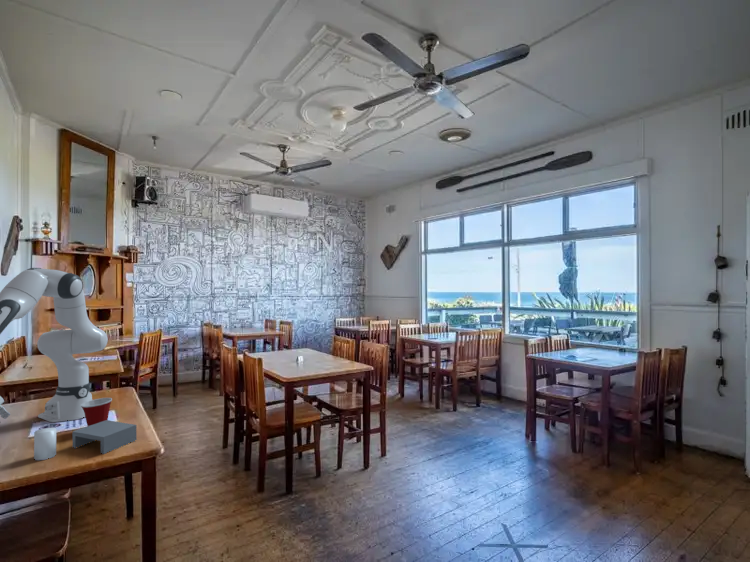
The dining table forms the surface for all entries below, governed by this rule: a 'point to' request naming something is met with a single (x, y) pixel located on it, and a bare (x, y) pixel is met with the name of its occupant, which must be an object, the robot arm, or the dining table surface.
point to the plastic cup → (96, 410)
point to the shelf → (106, 435)
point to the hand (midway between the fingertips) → (3, 420)
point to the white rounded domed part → (44, 443)
